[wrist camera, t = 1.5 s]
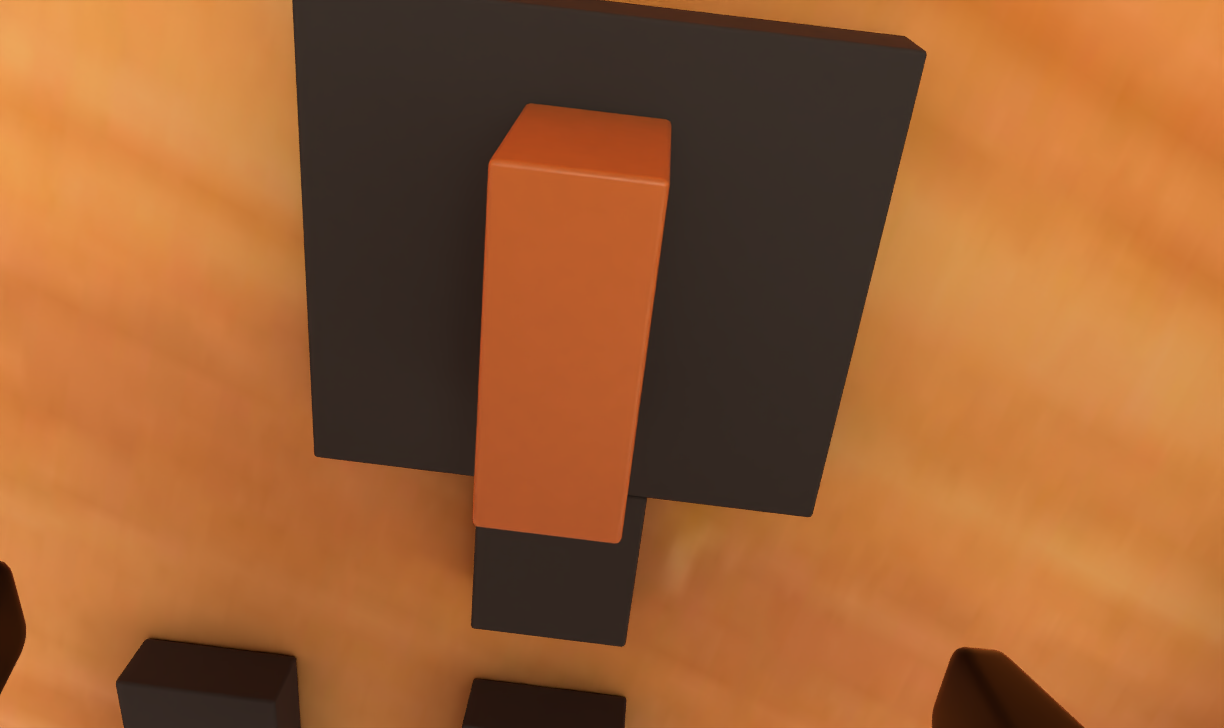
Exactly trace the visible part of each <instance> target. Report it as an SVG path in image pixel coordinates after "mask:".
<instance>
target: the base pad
mask: <svg viewBox="0 0 1224 728" xmlns="http://www.w3.org/2000/svg"><path fill="white" fill-rule="evenodd" d="M116 688H117V693H118V698H119V704H120V709H121V714H122V720H123V725H124V728H301V726H300V711H299V696H298V681H297V666H296V658H295V657H292V656H284V655H276V654H268V653H260V652H252V651H244V650H236V649H228V648H220V647H212V646H204V645H196V644H188V643H180V642H172V641H164V640H156V639H146V640H145V641H144V642H143V643H142V645H141V646H140V648H139V649H138V651H137V652H136V653H135V655H134V656H133V658H132V659H131V661H130V662H129V664H128V665H127V666H126V668H125V669H124V671H123V672H122V674H121V675H120V677H119V678H118V679H117V681H116ZM625 713H626V698H625V697H619V696H611V695H603V694H595V693H587V692H579V691H571V690H563V689H555V688H547V687H539V686H531V685H523V684H515V683H507V682H499V681H491V680H483V679H474V681H473V684H472V688H471V692H470V696H469V700H468V704H467V708H466V712H465V716H464V720H463V724H462V728H625Z"/></svg>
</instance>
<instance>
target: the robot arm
mask: <svg viewBox="0 0 1224 728" xmlns="http://www.w3.org/2000/svg"><path fill="white" fill-rule="evenodd" d="M25 638H26V623H25V619H24V615H23V611H22V608H21V604H20V600H19V596H18V593H17V589H16V585H15V581H14V578H13V574H12V571H11V569H10V568H9V567H8V566H7V564H6V563H4V562H1V561H0V694H1V692H2V690H3V688H4V686H5V684H6V682H7V680H8V678H9V676H10V674H11V672H12V670H13V668H14V666H15V664H16V662H17V660H18V658H19V656H20V654H21V652H22V649H23V646H24V643H25ZM932 728H1084V727H1083V726H1082V725H1081V724H1080V723H1079V722H1078V721H1077V720H1076V719H1075V718H1074V717H1072V716H1071V715H1070V714H1069V713H1068V712H1067V711H1066V710H1065V709H1064V708H1063V707H1062V706H1061V705H1059V704H1058V703H1057V702H1056V701H1055V700H1054V699H1053V698H1052V697H1051V696H1050V695H1049V694H1048V693H1046V692H1045V691H1044V690H1043V689H1042V688H1041V687H1040V686H1039V685H1038V684H1037V683H1036V682H1035V681H1034V680H1032V679H1031V678H1030V677H1029V676H1028V675H1027V674H1026V673H1025V672H1024V671H1023V670H1022V669H1021V668H1019V667H1018V666H1017V665H1016V664H1015V663H1014V662H1013V661H1012V660H1011V659H1010V658H1009V657H1007V656H1006V655H1005V654H1003V653H1002V652H1000V651H996V650H990V649H979V648H968V647H962V648H959V649H957V650H956V651H955V652H954V653H953V655H952V657H951V659H950V661H949V664H948V667H947V670H946V673H945V676H944V679H943V681H942V684H941V687H940V690H939V693H938V696H937V699H936V702H935V705H934V708H933V714H932Z"/></svg>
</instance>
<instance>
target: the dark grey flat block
mask: <svg viewBox="0 0 1224 728" xmlns="http://www.w3.org/2000/svg"><path fill="white" fill-rule="evenodd" d="M292 2H293V23H294V43H295V64H296V85H297V105H298V126H299V147H300V167H301V188H302V209H303V229H304V250H305V271H306V291H307V312H308V333H309V353H310V374H311V395H312V415H313V436H314V454H315V456H316V457H322V458H330V459H339V460H347V461H355V462H363V463H371V464H379V465H387V466H396V467H404V468H412V469H420V470H428V471H436V472H444V473H453V474H461V475H469V476H474V494H473V516H472V520H473V523H474V525H475V526H476V531H475V553H474V574H473V595H472V616H471V626H472V628H475V629H484V630H492V631H500V632H508V633H516V634H524V635H532V636H540V637H548V638H556V639H564V640H572V641H580V642H588V643H596V644H605V645H613V646H621V647H622V646H624V645H625V643H626V637H627V630H628V623H629V616H630V610H631V603H632V596H633V589H634V583H635V576H636V569H637V562H638V556H639V549H640V542H641V535H642V529H643V522H644V515H645V508H646V502H647V497H648V498H656V499H664V500H672V501H681V502H689V503H697V504H705V505H713V506H721V507H729V508H738V509H746V510H754V511H762V512H770V513H778V514H786V515H795V516H803V517H811V516H812V514H813V510H814V506H815V502H816V498H817V494H818V490H819V486H820V482H821V478H822V474H823V470H824V466H825V462H826V458H827V454H828V450H829V446H830V442H831V437H832V433H833V429H834V425H835V421H836V417H837V413H838V409H839V405H840V401H841V397H842V393H843V389H844V385H845V381H846V377H847V373H848V369H849V365H850V361H851V357H852V353H853V349H854V345H855V341H856V337H857V333H858V329H859V325H860V321H861V317H862V313H863V309H864V305H865V301H866V297H867V293H868V289H869V285H870V281H871V277H872V273H873V269H874V265H875V261H876V257H877V253H878V249H879V245H880V240H881V236H882V232H883V228H884V224H885V220H886V216H887V212H888V208H889V204H890V200H891V196H892V192H893V188H894V184H895V180H896V176H897V172H898V168H899V164H900V160H901V156H902V152H903V148H904V144H905V140H906V136H907V132H908V128H909V124H910V120H911V116H912V112H913V108H914V104H915V100H916V96H917V92H918V88H919V84H920V80H921V76H922V72H923V68H924V64H925V60H926V56H927V55H926V51H924V50H923V49H922V48H920V47H919V46H918V45H916V44H915V43H914V42H912V41H911V40H909V39H908V38H907V37H905V36H897V35H889V34H880V33H872V32H864V31H855V30H847V29H838V28H830V27H821V26H813V25H805V24H796V23H788V22H779V21H771V20H763V19H754V18H746V17H737V16H729V15H721V14H712V13H704V12H695V11H687V10H679V9H670V8H662V7H653V6H645V5H637V4H628V3H620V2H611V1H603V0H292Z"/></svg>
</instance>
